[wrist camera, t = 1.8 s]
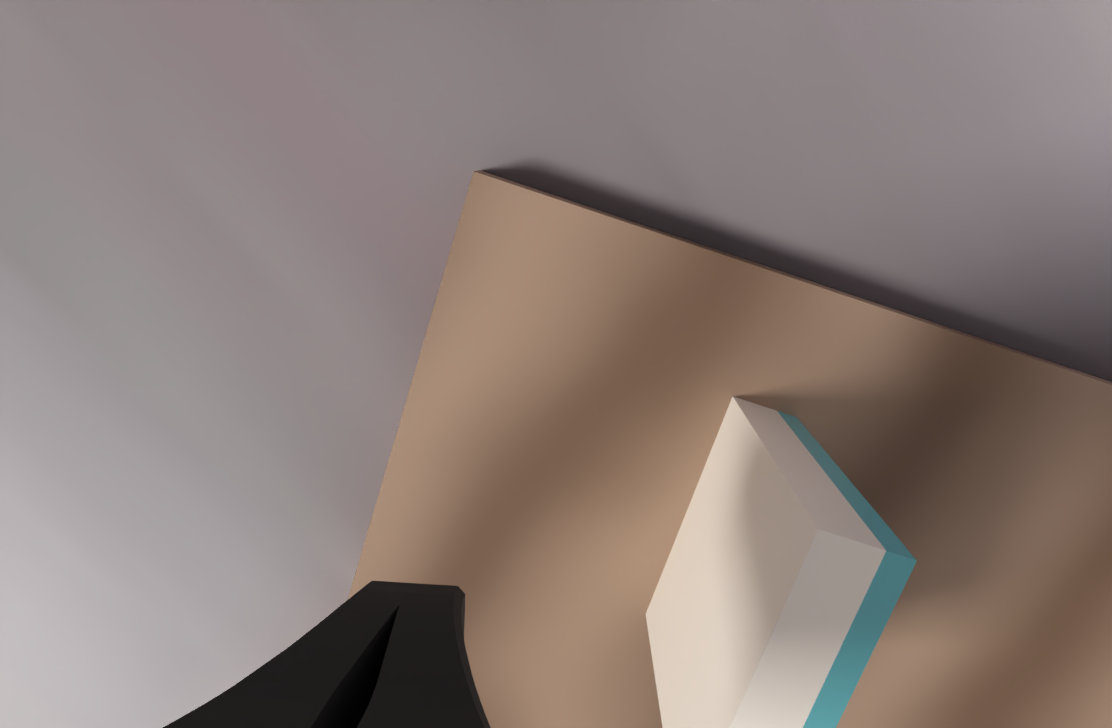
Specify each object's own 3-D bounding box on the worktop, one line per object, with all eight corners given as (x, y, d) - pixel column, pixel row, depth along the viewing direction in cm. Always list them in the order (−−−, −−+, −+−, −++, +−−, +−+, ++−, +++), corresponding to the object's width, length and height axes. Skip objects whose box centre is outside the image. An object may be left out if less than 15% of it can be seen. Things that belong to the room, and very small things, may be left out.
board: (1328, 454, 20) (1373, 472, 19) (1036, 939, 24) (1059, 978, 23) (480, 170, 19) (473, 171, 18) (315, 727, 23) (301, 758, 22)
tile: (797, 417, 19) (917, 560, 12) (705, 632, 21) (768, 866, 14) (732, 396, 19) (818, 529, 12) (645, 614, 21) (679, 839, 14)
